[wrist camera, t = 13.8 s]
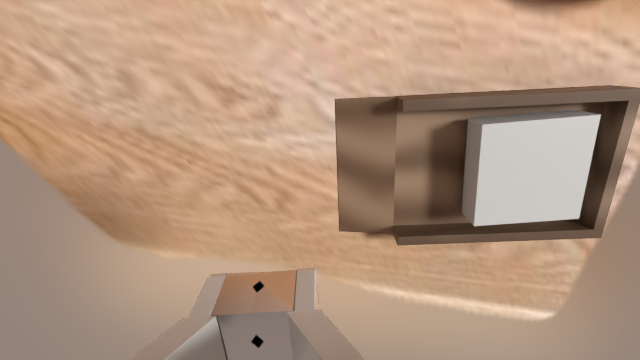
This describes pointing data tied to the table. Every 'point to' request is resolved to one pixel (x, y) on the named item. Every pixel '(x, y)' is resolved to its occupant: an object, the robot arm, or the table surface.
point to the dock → (461, 162)
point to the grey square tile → (527, 166)
